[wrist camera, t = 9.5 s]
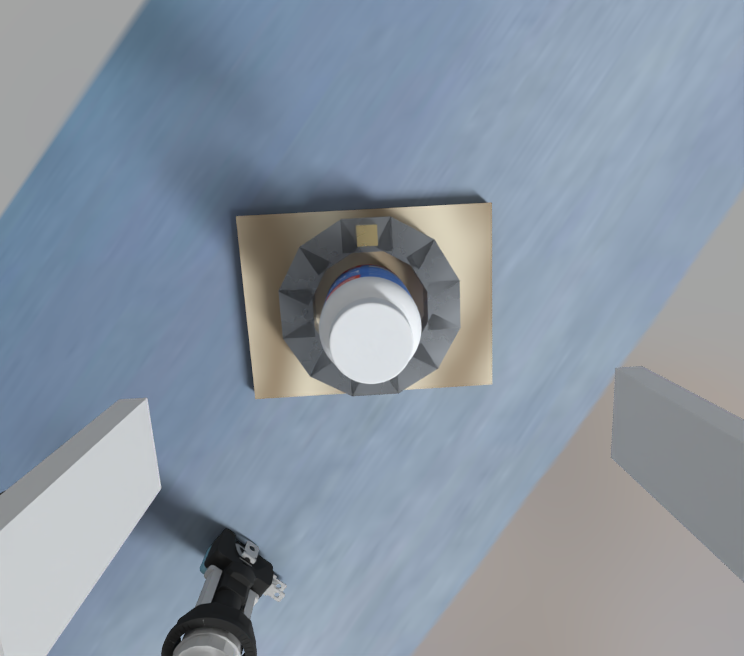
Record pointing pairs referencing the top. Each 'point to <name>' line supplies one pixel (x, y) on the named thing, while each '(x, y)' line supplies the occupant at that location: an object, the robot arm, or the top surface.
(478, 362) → the board
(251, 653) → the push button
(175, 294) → the top surface
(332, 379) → the ring
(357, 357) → the pill bottle
